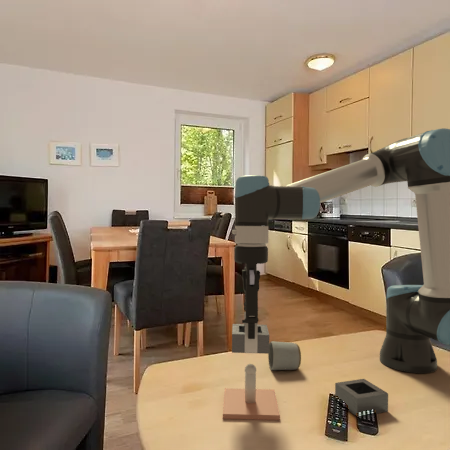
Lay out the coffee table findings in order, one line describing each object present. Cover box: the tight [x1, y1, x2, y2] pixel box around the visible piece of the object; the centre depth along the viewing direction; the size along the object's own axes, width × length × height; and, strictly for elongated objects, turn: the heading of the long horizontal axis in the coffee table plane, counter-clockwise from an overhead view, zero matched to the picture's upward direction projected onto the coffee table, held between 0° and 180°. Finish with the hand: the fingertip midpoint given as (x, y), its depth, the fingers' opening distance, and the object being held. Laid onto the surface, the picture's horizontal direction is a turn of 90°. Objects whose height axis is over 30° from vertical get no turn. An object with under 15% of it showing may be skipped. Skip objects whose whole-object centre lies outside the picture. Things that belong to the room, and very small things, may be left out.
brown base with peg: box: [222, 363, 281, 421], centre depth 84 cm, size 12×12×9 cm
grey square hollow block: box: [334, 378, 389, 416], centre depth 85 cm, size 8×8×4 cm
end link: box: [231, 323, 270, 355], centre depth 84 cm, size 8×8×4 cm
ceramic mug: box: [267, 340, 302, 371], centre depth 107 cm, size 11×8×8 cm
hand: (250, 345), depth 84 cm, fingers closed on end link, 8 cm apart
